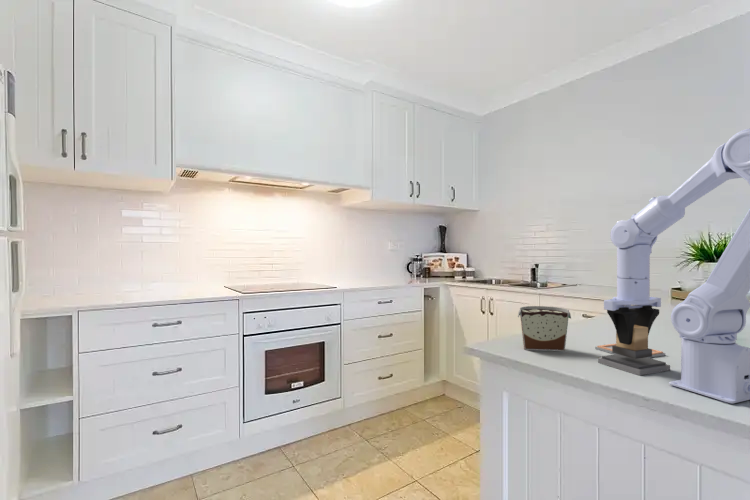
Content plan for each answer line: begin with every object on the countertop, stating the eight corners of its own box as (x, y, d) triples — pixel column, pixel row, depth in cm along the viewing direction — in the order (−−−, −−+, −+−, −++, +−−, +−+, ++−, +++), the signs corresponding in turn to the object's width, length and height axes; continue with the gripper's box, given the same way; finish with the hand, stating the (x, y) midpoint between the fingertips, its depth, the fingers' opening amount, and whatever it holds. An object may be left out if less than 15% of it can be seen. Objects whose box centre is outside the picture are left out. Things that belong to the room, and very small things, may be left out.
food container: (562, 344, 98) (562, 306, 98) (571, 351, 92) (571, 310, 92) (512, 343, 100) (512, 305, 100) (518, 349, 94) (518, 309, 94)
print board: (665, 355, 89) (665, 351, 89) (635, 359, 85) (635, 356, 85) (623, 345, 98) (623, 342, 98) (595, 348, 94) (595, 345, 94)
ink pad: (670, 370, 78) (670, 362, 78) (639, 375, 75) (639, 367, 75) (627, 358, 86) (627, 351, 86) (598, 362, 83) (598, 355, 83)
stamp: (652, 356, 79) (652, 327, 79) (635, 358, 77) (635, 329, 77) (628, 350, 84) (628, 323, 84) (612, 352, 82) (612, 324, 82)
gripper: (637, 275, 87) (637, 335, 87) (590, 277, 82) (590, 341, 82) (671, 278, 80) (671, 342, 80) (622, 280, 75) (622, 349, 75)
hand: (632, 342), depth 80 cm, fingers closed on stamp, 4 cm apart
